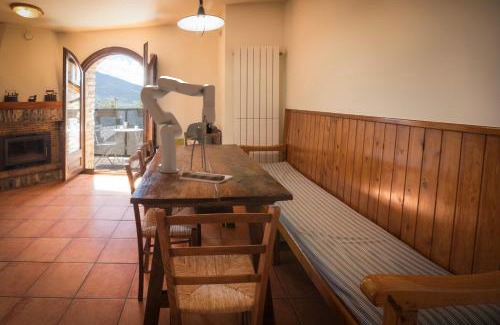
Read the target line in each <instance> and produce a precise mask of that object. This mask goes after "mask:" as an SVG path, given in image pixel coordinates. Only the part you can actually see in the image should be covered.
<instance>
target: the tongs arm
mask: <svg viewBox="0 0 500 325" xmlns="http://www.w3.org/2000/svg"><path fill="white" fill-rule="evenodd" d="M196 172H197V171H195V172H193V173H194V174H203V175H212V176H221V177H222V180H223V179H225V176H222V175H223V174H220V175H214V174H215V173H210V174H205V173H206V172H201V173H196Z"/></svg>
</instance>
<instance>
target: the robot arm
mask: <svg viewBox="0 0 500 325" xmlns="http://www.w3.org/2000/svg"><path fill="white" fill-rule="evenodd" d="M171 92H174V93H177V94H181V95H185V96H188V97H198V98H199V97H202V101H203V102H202V111H201V123H203V125H204V126H205V129H206V131H205V133H206V134H207V135H212V134H213V125H215V122H216V86H215V85H213V84H204V85H203V84H196V83H190V82H185V81H183V80H182V79H179V78H174V77H171V76H165V75H163V76H159V77H158V78H157V81H156V85H146V86H144V87H142V88H141V91H140V94H139V95H140V100H141V103H142V104H143V106H144V107H145V108H146V110H147V112H148V114H149V115H150V117H151V118H152V120H153V122H154V123H155V125H157V126H161V128H160V130H159V137H160V140H161V141H160V142H161V164H158V166H157V168H159V172H160V173H163V174H172V173H173V174H174V173H178V172H179V171H180V169H179V168H177V166H178V165H177V143H176V140H175V139H177V138H180V137H181V136H182V135H183V128H182V126H181V124H180V122H179V121H178V120H177V118H176V116H175V115H174V114H173V113H172V111H169V110H163V109H162V107H161V106H160V104H159V102H157V101H156V100H159V99H162V98H164V97H165V96H167V95H169V94H170V93H171Z"/></svg>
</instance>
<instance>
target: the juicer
mask: <svg viewBox="0 0 500 325" xmlns="http://www.w3.org/2000/svg"><path fill="white" fill-rule="evenodd" d="M195 136H196V137H194V140H193V144H192V149H191V156H190V157H191V158H190V171H192V169H193V159H194V152H195V151H194V150H195V145H196V142H197V143H198V146H200V153H201V154H200V156H201V169H203V168H204V171H205V172H206V171H207V162H206V159H207V158H206V152H205V151H206V150H205V145H204V144H205V143H204V129H203V127H201V126H198V127H196V129H195Z"/></svg>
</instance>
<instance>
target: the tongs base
mask: <svg viewBox="0 0 500 325" xmlns="http://www.w3.org/2000/svg"><path fill="white" fill-rule="evenodd" d="M181 174H182V176H181V177H188V178H197V179H205V180H214V181H222V177H221V176H212V175H203V174H194V172H190V171H184V172H182V173H181Z"/></svg>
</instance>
